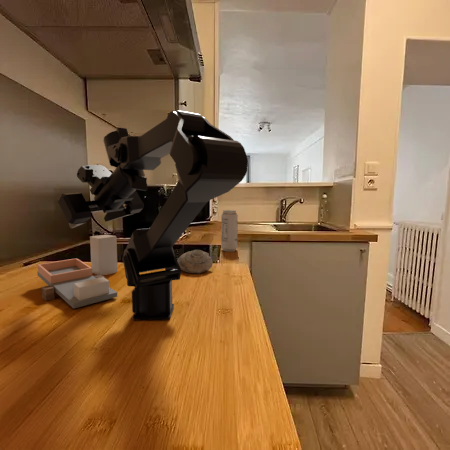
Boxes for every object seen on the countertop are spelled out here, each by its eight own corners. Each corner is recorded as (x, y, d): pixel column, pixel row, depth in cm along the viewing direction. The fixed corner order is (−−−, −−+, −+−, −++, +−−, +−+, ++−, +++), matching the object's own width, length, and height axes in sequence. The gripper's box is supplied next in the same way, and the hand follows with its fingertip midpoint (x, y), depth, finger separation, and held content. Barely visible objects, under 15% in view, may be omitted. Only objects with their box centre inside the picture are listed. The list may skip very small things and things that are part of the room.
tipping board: (117, 296, 64) (117, 280, 63) (73, 308, 57) (73, 290, 56) (76, 268, 77) (76, 254, 77) (37, 275, 71) (37, 260, 70)
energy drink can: (239, 251, 112) (239, 211, 110) (223, 252, 111) (223, 211, 109) (234, 248, 118) (235, 210, 116) (219, 249, 117) (219, 210, 115)
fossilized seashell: (168, 265, 85) (177, 242, 85) (185, 269, 94) (193, 248, 95) (201, 277, 80) (209, 252, 81) (215, 280, 90) (223, 257, 91)
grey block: (117, 272, 84) (116, 236, 82) (99, 276, 80) (98, 238, 79) (109, 268, 87) (107, 234, 86) (91, 272, 83) (89, 236, 82)
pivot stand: (105, 286, 71) (105, 276, 71) (46, 301, 62) (45, 289, 62) (100, 284, 73) (100, 274, 73) (42, 298, 64) (41, 287, 63)
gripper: (137, 155, 73) (106, 192, 81) (61, 152, 57) (33, 198, 65) (159, 193, 71) (125, 227, 79) (87, 201, 56) (55, 242, 64)
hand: (88, 222), depth 72 cm, fingers open, 9 cm apart
